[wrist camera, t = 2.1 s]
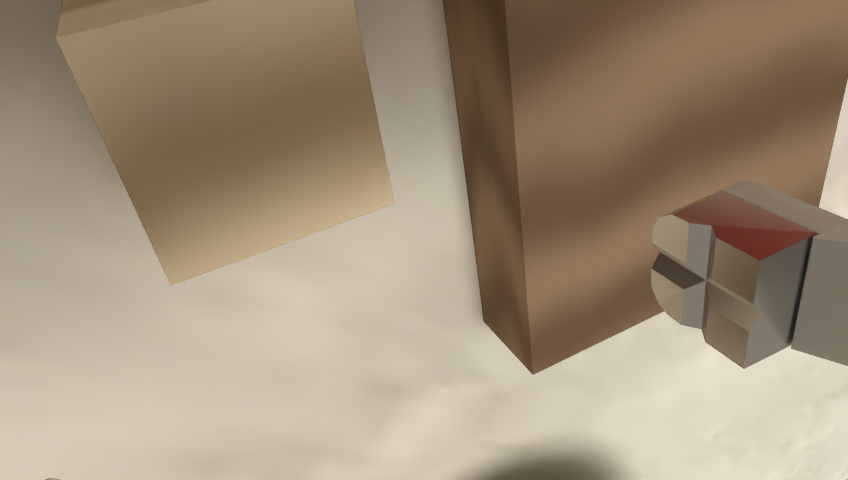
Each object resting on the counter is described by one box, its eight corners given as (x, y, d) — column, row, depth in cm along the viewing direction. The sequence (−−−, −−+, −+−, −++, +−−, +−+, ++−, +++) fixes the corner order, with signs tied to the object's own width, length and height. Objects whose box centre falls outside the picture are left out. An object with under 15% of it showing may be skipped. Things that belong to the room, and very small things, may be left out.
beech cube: (63, -5, 17) (56, 38, 12) (279, -53, 18) (346, -33, 14) (149, 191, 20) (170, 285, 15) (326, 134, 22) (394, 203, 17)
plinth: (436, -52, 20) (501, -42, 17) (794, -139, 25) (897, -143, 22) (484, 321, 29) (532, 374, 26) (743, 206, 34) (811, 239, 30)
